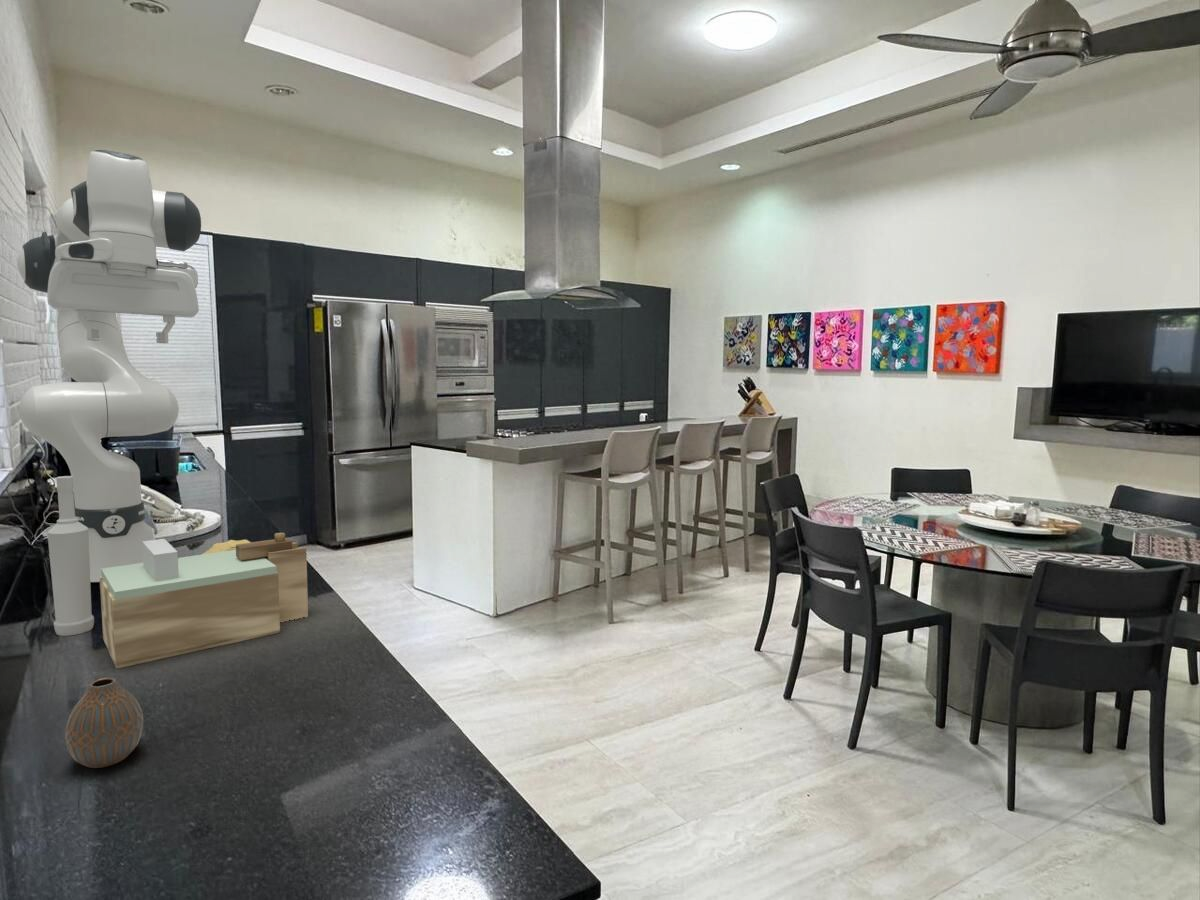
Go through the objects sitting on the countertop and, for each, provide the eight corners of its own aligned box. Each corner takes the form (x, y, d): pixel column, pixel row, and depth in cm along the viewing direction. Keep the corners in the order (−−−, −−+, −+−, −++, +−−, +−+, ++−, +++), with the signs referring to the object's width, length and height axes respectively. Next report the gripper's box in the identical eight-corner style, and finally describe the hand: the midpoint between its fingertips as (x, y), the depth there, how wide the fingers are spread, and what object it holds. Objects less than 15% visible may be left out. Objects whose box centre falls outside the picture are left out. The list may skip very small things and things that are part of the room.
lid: (101, 576, 107) (99, 543, 107) (250, 554, 121) (249, 525, 121) (115, 600, 97) (113, 564, 96) (276, 573, 111) (275, 541, 110)
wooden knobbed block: (236, 556, 115) (235, 537, 114) (286, 549, 120) (286, 530, 120) (241, 560, 112) (240, 541, 112) (292, 552, 118) (291, 534, 117)
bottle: (72, 637, 108) (62, 480, 105) (45, 634, 109) (34, 478, 106) (102, 626, 113) (93, 475, 110) (76, 623, 114) (66, 473, 111)
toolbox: (103, 638, 108) (98, 563, 107) (289, 602, 127) (287, 537, 125) (116, 668, 98) (111, 585, 96) (317, 624, 116) (315, 553, 115)
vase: (159, 748, 78) (155, 674, 77) (97, 782, 71) (92, 701, 70) (115, 736, 80) (111, 664, 79) (51, 768, 74) (46, 690, 73)
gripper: (192, 265, 121) (196, 345, 122) (43, 249, 107) (49, 339, 109) (201, 261, 116) (205, 344, 117) (45, 244, 102) (52, 338, 104)
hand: (128, 341), depth 113 cm, fingers open, 8 cm apart
